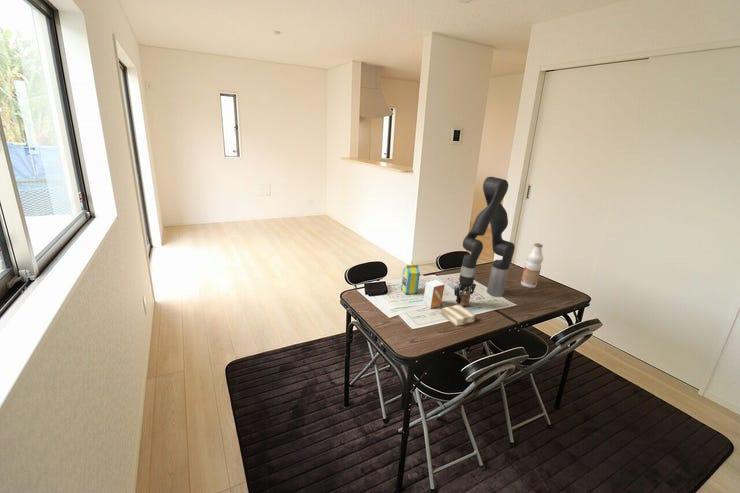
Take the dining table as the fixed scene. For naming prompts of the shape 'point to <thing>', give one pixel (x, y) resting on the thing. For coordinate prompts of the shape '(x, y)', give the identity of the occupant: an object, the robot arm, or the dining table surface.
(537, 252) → the fruit juice
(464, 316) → the beige square plate
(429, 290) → the small box
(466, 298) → the walnut cube
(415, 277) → the carton
